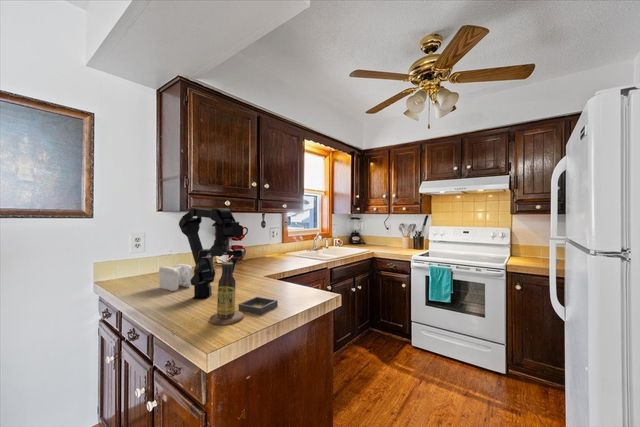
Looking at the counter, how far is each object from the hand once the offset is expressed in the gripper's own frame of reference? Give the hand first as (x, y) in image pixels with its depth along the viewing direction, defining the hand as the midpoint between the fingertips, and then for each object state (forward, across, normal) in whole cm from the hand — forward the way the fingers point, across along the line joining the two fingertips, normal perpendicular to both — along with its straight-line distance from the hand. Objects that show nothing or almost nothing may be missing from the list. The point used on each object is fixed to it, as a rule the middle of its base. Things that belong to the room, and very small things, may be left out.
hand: (222, 272), depth 120 cm
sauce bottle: (+12, +8, -18) cm, 23 cm away
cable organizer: (+13, -32, +23) cm, 42 cm away
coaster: (+13, +8, -18) cm, 24 cm away
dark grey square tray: (+13, +17, -8) cm, 23 cm away
